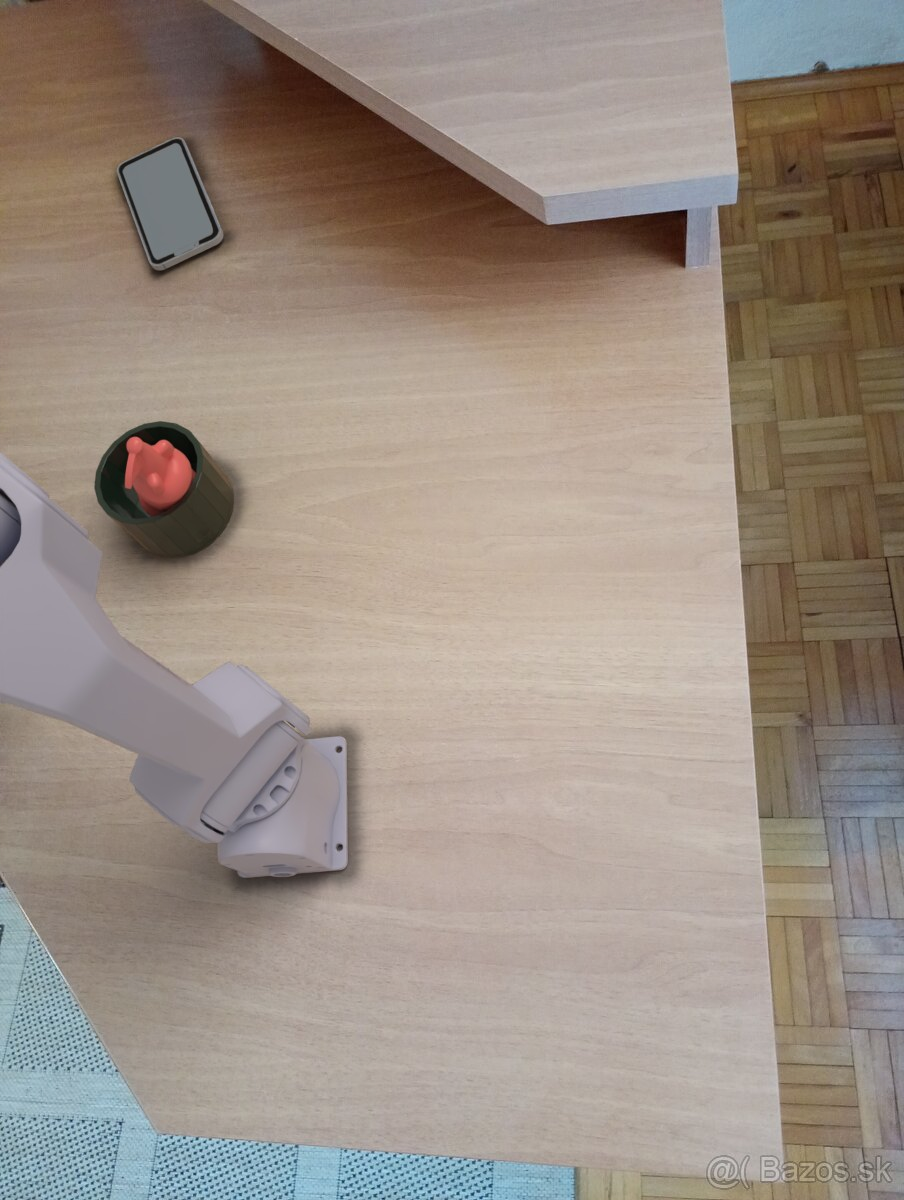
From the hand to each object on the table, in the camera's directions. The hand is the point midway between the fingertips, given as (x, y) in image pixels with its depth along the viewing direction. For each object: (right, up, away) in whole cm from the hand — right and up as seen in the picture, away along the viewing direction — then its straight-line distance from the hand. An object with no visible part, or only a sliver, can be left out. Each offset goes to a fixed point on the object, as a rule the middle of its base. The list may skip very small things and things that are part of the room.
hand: (0, 557), depth 77 cm
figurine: (+10, +5, +10) cm, 15 cm away
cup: (+10, +5, +11) cm, 16 cm away
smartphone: (+6, +34, +25) cm, 43 cm away
